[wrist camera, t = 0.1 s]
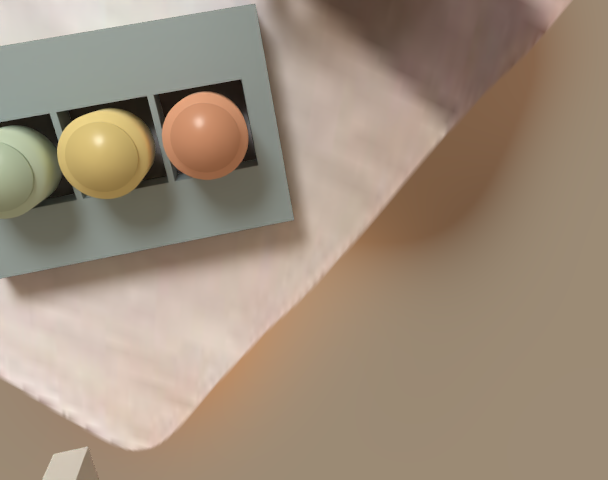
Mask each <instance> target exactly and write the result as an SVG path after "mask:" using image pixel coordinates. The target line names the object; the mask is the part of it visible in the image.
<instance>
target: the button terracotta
mask: <svg viewBox="0 0 608 480" xmlns="http://www.w3.org/2000/svg"><path fill="white" fill-rule="evenodd" d="M162 142H163V147H164V150H165V152H166V154H167V157H168V158H169V160H170V161H171V162H172V164H173V165H174V166H175V167H176V168H177V169H178V170H180V171H181V172H182V173H184V174H186V175H188V176H190V177H193V178H196V179H202V180H212V179H217V178H221V177H223V176H226V175H227V174H229V173H231V172H232V171H233V170H235V169H236V168H237V167H238V166H239V164H240V163H241V162H242V160H243V158H244V156H245V154H246V151H247V147H248V130H247V126H246V123H245V120H244V117H243V115H242V113H241V111H240V109H239V108H238V107H237V105H236V104H235V103H234V102H233V101H232V100H230V99H229V98H228V97H226V96H224V95H222V94H220V93H216V92H212V91H200V92H195V93H192V94H190V95H188V96H186V97H185V98H183V99H182V100H181V101H179V102H178V103H177V104H175V105H174V106H173V108H172V109H171V110H170V111H169V113H168V114H167V116H166V118H165V121H164V124H163V128H162Z"/></svg>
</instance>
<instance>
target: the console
mask: <svg viewBox="0 0 608 480" xmlns="http://www.w3.org/2000/svg"><path fill="white" fill-rule="evenodd" d="M240 79H241V83H242V88H243V93H244V98H245V104H246V109H247V114H248V119H249V124H250V129H251V134H252V139H253V144H254V150H255V155H256V159H255V160H250V161H244V162H241V163H240V164H239V166H238V167H237V168H236V169H235V170H233V171H232V172H231V173H229V174H227V175H226V176H223V177H221V178H217V179H212V180H202V179H196V178H193V177H190V176H188V175H186V174H184V173H181V174H178V171H177V168H176V167H175V166H174V165H173V164H172V162H171V161H170V160H169V158H168V157H167V154H166V152H165V150H164V147H163V142H162V128H163V124H164V121H165V118H164V114H163V110H162V106H161V102H160V98H159V94H161V93H167V92H172V91H178V90H184V89H189V88H195V87H200V86H206V85H212V84H217V83H223V82H229V81H234V80H240ZM144 96H147V98H148V102H149V106H150V110H151V114H152V118H153V122H154V126H155V130H156V134H157V138H158V142H159V146H160V150H161V154H162V158H163V162H164V165H165V169H166V173H167V176H165V177H160V178H155V179H150V180H144V181H141V182H140V183H139V185H138V186H137V187H136V188H135V189H134V190H132V191H131V192H129V193H128V194H126V195H124V196H121V197H118V198H113V199H99V198H94V197H91V196H88V195H86V194H84V193H82V192H80V191H79V190H77V189H76V188H75V187H73V189H74V193H75V194H71V195H65V196H60V197H55V198H49V199H44V200H43V201H41V202H40V203H39V204H37V205H36V206H35V207H33V208H32V209H30V210H29V211H28V212H26V213H24V214H23V215H20V216H18V217H14V218H8V219H0V279H1V278H6V277H11V276H16V275H21V274H26V273H31V272H36V271H41V270H46V269H51V268H56V267H61V266H66V265H71V264H76V263H81V262H86V261H91V260H96V259H101V258H106V257H111V256H116V255H121V254H126V253H131V252H136V251H141V250H146V249H151V248H156V247H161V246H166V245H171V244H176V243H181V242H186V241H191V240H196V239H201V238H206V237H211V236H216V235H221V234H226V233H231V232H236V231H241V230H246V229H251V228H256V227H261V226H266V225H271V224H276V223H281V222H286V221H292V220H294V217H293V211H292V206H291V200H290V195H289V189H288V183H287V178H286V172H285V167H284V161H283V156H282V150H281V144H280V139H279V133H278V128H277V122H276V117H275V111H274V105H273V100H272V94H271V89H270V83H269V78H268V72H267V67H266V61H265V55H264V50H263V44H262V39H261V33H260V28H259V22H258V16H257V11H256V5H255V4H250V5H244V6H238V7H232V8H226V9H220V10H214V11H208V12H202V13H196V14H190V15H184V16H178V17H172V18H166V19H160V20H154V21H148V22H142V23H136V24H130V25H124V26H118V27H112V28H106V29H100V30H95V31H89V32H83V33H77V34H71V35H65V36H59V37H53V38H47V39H41V40H35V41H29V42H23V43H17V44H11V45H5V46H0V122H4V121H9V120H15V119H21V118H26V117H32V116H37V115H43V114H49V113H50V116H51V119H52V122H53V126H54V129H55V132H56V135H57V138H58V142H59V139H60V136H61V134H62V132H63V131H64V129H65V128H66V127H67V126H68V125H69V124H70V123H71V122H72V121H71V118H70V114H69V111H68V110H71V109H77V108H82V107H88V106H94V105H99V104H105V103H111V102H116V101H122V100H127V99H133V98H139V97H144Z"/></svg>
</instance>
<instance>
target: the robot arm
mask: <svg viewBox="0 0 608 480" xmlns="http://www.w3.org/2000/svg"><path fill="white" fill-rule="evenodd" d="M42 480H99V477H98V474H97V471H96V468H95V465H94V463H93V460H92V457H91V454H90V451H89V448H88V447H84V448H80V449H75V450H70V451H66V452H61V453H57V454H53V457H52V459H51V461H50V463H49V466H48V468H47V470H46V472H45V475H44V477H43V479H42Z"/></svg>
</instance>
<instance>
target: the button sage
mask: <svg viewBox="0 0 608 480" xmlns="http://www.w3.org/2000/svg"><path fill="white" fill-rule="evenodd" d="M61 177H62V171H61V169H60V166H59V162H58V157H57V149H56V147H55V146H54V144H53V143H52V142H51V141H50V140H49V139H48V138H47V137H46V136H45V135H43V134H42V133H40V132H39V131H37V130H35V129H32V128H30V127H26V126H20V125H10V126H5V127H1V128H0V219H8V218H14V217H18V216H20V215H23V214H24V213H26V212H28V211H29V210H30V209H32V208H33V207H35V206H36V205H37V204H39V203H40V202H41V201H43V200H44V199H46V198H47V197H48V196H50V195H51V194H52V193H53V192H54V191H55V190H56V188H57V187H58V185H59V183H60V180H61Z"/></svg>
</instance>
